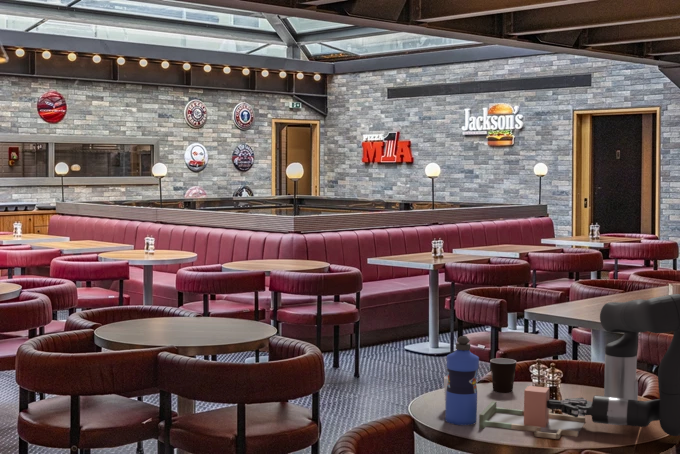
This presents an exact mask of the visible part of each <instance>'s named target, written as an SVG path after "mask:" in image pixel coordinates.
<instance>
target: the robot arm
mask: <svg viewBox="0 0 680 454" xmlns="http://www.w3.org/2000/svg"><path fill="white" fill-rule="evenodd" d="M599 322H600V324H601V326H602V328H603V330H605V332H608V333H615V334H616V333H623V335H622V336H621V337H619V338H618V339H616V340H614V341H611V342H609V343H607V344H605V347H604V354H605V355H604V383H603V384H604V385H603V387H604V388H603V389H604V391H603V393H604V394H603V395H594V396H593V397H592V401H591V400H587V399H585V398H584V397H576V398H575V397H573V398H565V399H561V400H557V399H549V400H548V401H547V408H549V409H552V410H560V412H561V413H563V414H564V415H570V416H574V417H578V416H579V417H586V416H591V421H592V422H593V423H596V424H604V425H614V426H629V427H630V426H631V427H640V428H642V427H643V428H646V427H648V426H649V425H650V424H651V423H652V422H656V421H657V422H658V421H659V425H660V428H661V429H662V431H663V432H664V433H665V434H666V435H669V436H671V437H678V436H680V293H673V294H668V295H667V294H666V295H663V296H657V297H651V298H648V299H643V298H641V299H633V300H628V301H624V302H623V301H622V302H621V301H617V302H616V301H612V302H606V303H604V305H603V306H602V308H601V309H600V313H599ZM647 332H649V333H651V334H663V333H664V334H665V333H670V332H673V335H672V339H671V342H670V344H669V346H668V348H667V350H666V352H665V353H664V355H663V357H662V359H661V361H660V363H659V366H658V370H657V381H658V382H657V385H658V393H659V394H658V395H659V399H650V400H639V398H638V397H639V396H638V395H639V382H638V381H639V380H637V360H638V358H637V357H638V355H637V354H638V345H639V344H638V343H639V333H647Z"/></svg>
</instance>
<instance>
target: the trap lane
mask: <svg viewBox="0 0 680 454" xmlns="http://www.w3.org/2000/svg"><path fill="white" fill-rule="evenodd" d="M478 416H479V417H478V418H479V419H478V421H479V423H478V428H479V429H481V428H482V429H485V428H486V427H493V428H501V429H502V428H503V429H510V430H518V431H526V432H533V433H534V434H533V436H534V437H538V438H546V439H552V440H554V439H555V440H560V439H561V437H562V436H568V437H576V438H577V437H578V436H579V434H580V432H581V430H582V428H583V426H584V425H585V422H586V416H579V415H578V417H574V416H571V415H568V414H561V413H560V414H559V413H553V409H549V422H548V424H547V425H546V427H545V428H544V427H538V426H529V425H524V409H515V408H506V407H498V406H497V401H496V400H492V401H491V402H490V403H489V404H488V405H487V406H486V407H485V408H484V409H483V410H482V411H481V412H480V413H479V415H478Z"/></svg>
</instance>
